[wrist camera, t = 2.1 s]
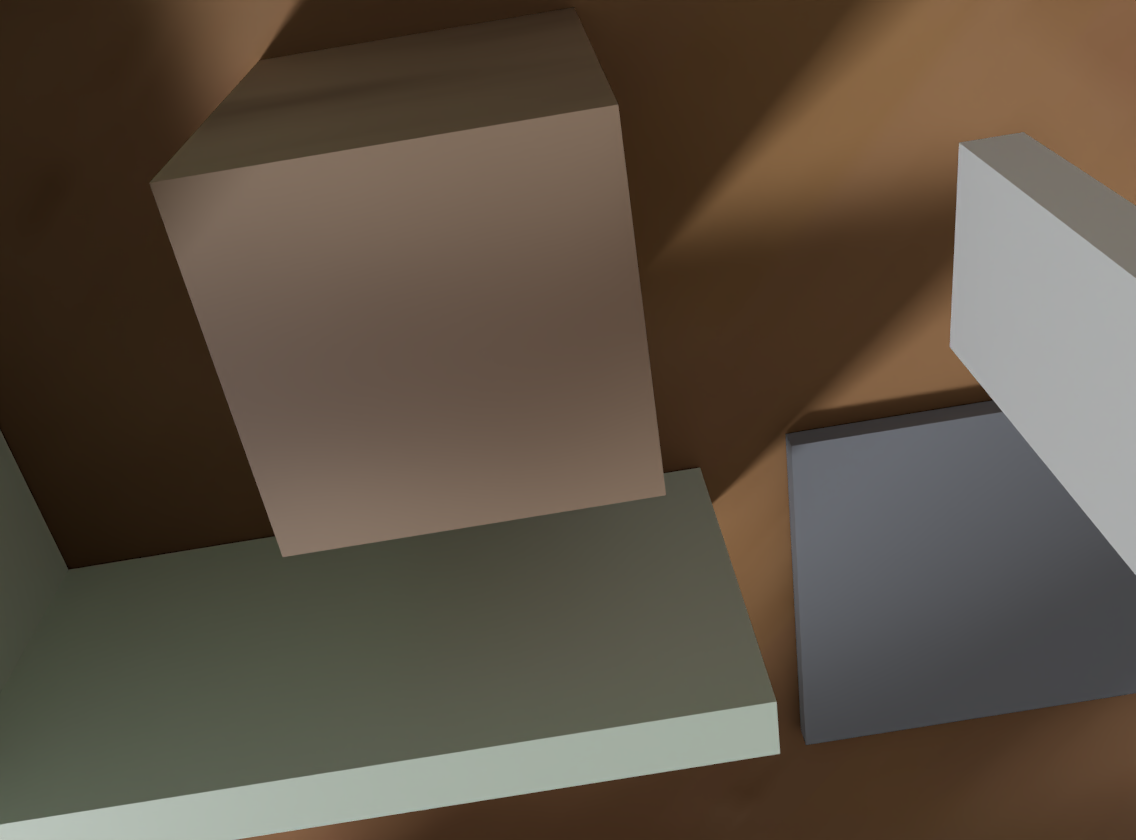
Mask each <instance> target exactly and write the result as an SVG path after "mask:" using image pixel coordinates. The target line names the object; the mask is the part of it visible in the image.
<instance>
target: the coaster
mask: <svg viewBox="0 0 1136 840" xmlns="http://www.w3.org/2000/svg"><path fill="white" fill-rule="evenodd" d="M786 451H787V470H788V490H789V509H790V528H791V548H792V567H793V587H794V606H795V625H796V645H797V664H798V683H799V703H800V722H801V732H802V735H803V738H804V741H805V744H806V745H810V744H816V743H822V742H829V741H835V740H841V739H848V738H854V737H860V736H867V735H873V734H879V733H886V732H892V731H898V730H905V729H911V728H918V727H924V726H930V725H937V724H943V723H949V722H956V721H962V720H968V719H975V718H981V717H987V716H994V715H1000V714H1006V713H1013V712H1019V711H1025V710H1032V709H1038V708H1044V707H1051V706H1057V705H1064V704H1070V703H1076V702H1083V701H1089V700H1095V699H1102V698H1108V697H1114V696H1121V695H1127V694H1133V693H1136V575H1135V574H1134V572H1133V571H1132V570H1131V569H1130V568H1129V566H1128V565H1127V564H1126V563H1125V561H1124V560H1123V559H1122V558H1121V556H1120V555H1119V554H1118V553H1117V552H1116V550H1115V549H1114V548H1113V547H1112V545H1111V544H1110V543H1109V542H1108V541H1107V539H1106V538H1105V537H1104V536H1103V534H1102V533H1101V532H1100V531H1099V529H1098V528H1097V527H1096V526H1095V525H1094V523H1093V522H1092V521H1091V520H1090V518H1089V517H1088V516H1087V515H1086V514H1085V512H1084V511H1083V510H1082V509H1081V507H1080V506H1079V505H1078V504H1077V502H1076V501H1075V500H1074V499H1073V498H1072V496H1071V495H1070V494H1069V493H1068V491H1067V490H1066V489H1065V488H1064V487H1063V485H1062V484H1061V483H1060V482H1059V480H1058V479H1057V478H1056V477H1055V475H1054V474H1053V473H1052V472H1051V471H1050V469H1049V468H1048V467H1047V466H1046V464H1045V463H1044V462H1043V461H1042V460H1041V458H1040V457H1039V456H1038V455H1037V453H1036V452H1035V451H1034V450H1033V448H1032V447H1031V446H1030V445H1029V444H1028V442H1027V441H1026V440H1025V439H1024V437H1023V436H1022V435H1021V434H1020V433H1019V431H1018V430H1017V429H1016V428H1015V426H1014V425H1013V424H1012V423H1011V421H1010V420H1009V419H1008V418H1007V417H1006V415H1005V414H1004V413H1003V412H1002V410H1001V409H1000V408H999V407H998V405H997V404H996V403H995V402H994V401H993V400H992V401H986V402H980V403H974V404H968V405H962V406H955V407H949V408H943V409H937V410H931V411H925V412H918V413H912V414H906V415H900V416H894V417H888V418H881V419H875V420H869V421H863V422H857V423H851V424H844V425H838V426H832V427H826V428H820V429H813V430H807V431H801V432H795V433H789V434H786Z"/></svg>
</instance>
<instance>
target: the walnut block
mask: <svg viewBox="0 0 1136 840" xmlns="http://www.w3.org/2000/svg"><path fill="white" fill-rule="evenodd" d="M149 184H150V187H151V190H152V192H153V195H154V198H155V201H156V204H157V206H158V209H159V212H160V215H161V218H162V220H163V223H164V226H165V229H166V232H167V234H168V237H169V240H170V243H171V246H172V248H173V251H174V254H175V257H176V260H177V262H178V265H179V268H180V271H181V274H182V276H183V279H184V282H185V285H186V288H187V290H188V293H189V296H190V299H191V302H192V304H193V307H194V310H195V313H196V316H197V318H198V321H199V324H200V327H201V330H202V332H203V335H204V338H205V341H206V344H207V346H208V349H209V352H210V355H211V358H212V360H213V363H214V366H215V369H216V372H217V374H218V377H219V380H220V383H221V386H222V388H223V391H224V394H225V397H226V400H227V402H228V405H229V408H230V411H231V414H232V416H233V419H234V422H235V425H236V428H237V430H238V433H239V436H240V439H241V442H242V444H243V447H244V450H245V453H246V456H247V458H248V461H249V464H250V467H251V470H252V472H253V475H254V478H255V481H256V484H257V486H258V489H259V492H260V495H261V498H262V500H263V503H264V506H265V509H266V512H267V514H268V517H269V520H270V523H271V526H272V528H273V531H274V534H275V537H276V540H277V542H278V545H279V548H280V551H281V554H282V557H287V556H293V555H299V554H306V553H312V552H318V551H324V550H330V549H337V548H343V547H349V546H355V545H361V544H367V543H374V542H380V541H386V540H392V539H398V538H405V537H411V536H417V535H423V534H429V533H436V532H442V531H448V530H454V529H460V528H466V527H473V526H479V525H485V524H491V523H497V522H504V521H510V520H516V519H522V518H528V517H534V516H541V515H547V514H553V513H559V512H565V511H572V510H578V509H584V508H590V507H596V506H603V505H609V504H615V503H621V502H627V501H633V500H640V499H646V498H652V497H658V496H664V495H666V490H665V482H664V474H663V466H662V458H661V449H660V441H659V433H658V425H657V417H656V409H655V400H654V392H653V384H652V376H651V368H650V360H649V351H648V343H647V335H646V327H645V319H644V311H643V302H642V294H641V286H640V278H639V270H638V262H637V254H636V245H635V237H634V229H633V221H632V213H631V205H630V196H629V188H628V180H627V172H626V164H625V156H624V147H623V139H622V131H621V123H620V115H619V107H618V103H617V101H616V98H615V96H614V94H613V92H612V90H611V87H610V85H609V83H608V81H607V79H606V76H605V74H604V72H603V70H602V68H601V65H600V63H599V61H598V59H597V57H596V54H595V52H594V50H593V48H592V46H591V43H590V41H589V39H588V37H587V35H586V32H585V30H584V28H583V26H582V24H581V21H580V19H579V17H578V15H577V13H576V10H575V8H574V7H572V8H566V9H560V10H554V11H548V12H543V13H537V14H531V15H525V16H519V17H513V18H507V19H501V20H495V21H489V22H483V23H477V24H471V25H466V26H460V27H454V28H448V29H442V30H436V31H430V32H424V33H418V34H412V35H406V36H400V37H394V38H388V39H383V40H377V41H371V42H365V43H359V44H353V45H347V46H341V47H335V48H329V49H323V50H317V51H311V52H306V53H300V54H294V55H288V56H282V57H276V58H270V59H264V60H259V61H258V62H257V64H256V65H255V66H254V67H253V68H252V69H251V70H250V71H249V72H248V74H247V75H246V76H245V77H244V78H243V79H242V80H241V81H240V82H239V84H238V85H237V86H236V87H235V88H234V89H233V90H232V91H231V92H230V94H229V95H228V96H227V97H226V98H225V99H224V100H223V101H222V102H221V104H220V105H219V106H218V107H217V108H216V109H215V110H214V111H213V113H212V114H211V115H210V116H209V117H208V118H207V119H206V120H205V121H204V123H203V124H202V125H201V126H200V127H199V128H198V129H197V130H196V131H195V133H194V134H193V135H192V136H191V137H190V138H189V139H188V140H187V141H186V143H185V144H184V145H183V146H182V147H181V148H180V149H179V150H178V151H177V153H176V154H175V155H174V156H173V157H172V158H171V159H170V160H169V161H168V163H167V164H166V165H165V166H164V167H163V168H162V169H161V170H160V171H159V173H158V174H157V175H156V176H155V177H154V178H153V179H152V180H151V181H150V183H149Z"/></svg>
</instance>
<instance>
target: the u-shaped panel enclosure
mask: <svg viewBox="0 0 1136 840" xmlns="http://www.w3.org/2000/svg"><path fill="white" fill-rule="evenodd" d="M663 474H664V482H665V490H666V495H664V496H658V497H652V498H646V499H640V500H633V501H627V502H621V503H615V504H609V505H603V506H596V507H590V508H584V509H578V510H572V511H565V512H559V513H553V514H547V515H541V516H534V517H528V518H522V519H516V520H510V521H504V522H497V523H491V524H485V525H479V526H473V527H466V528H460V529H454V530H448V531H442V532H436V533H429V534H423V535H417V536H411V537H405V538H398V539H392V540H386V541H380V542H374V543H367V544H361V545H355V546H349V547H343V548H337V549H330V550H324V551H318V552H312V553H306V554H299V555H293V556H287V557H282V554H281V551H280V548H279V545H278V542H277V540H276V537H275V536H274V537H267V538H261V539H255V540H249V541H243V542H237V543H230V544H224V545H218V546H212V547H206V548H199V549H193V550H187V551H181V552H175V553H169V554H162V555H156V556H150V557H144V558H138V559H131V560H125V561H119V562H113V563H107V564H101V565H94V566H88V567H82V568H76V569H70V570H68V568H67V566H66V564H65V562H64V559H63V557H62V555H61V553H60V551H59V549H58V547H57V545H56V543H55V541H54V539H53V537H52V535H51V533H50V531H49V529H48V527H47V525H46V523H45V521H44V519H43V517H42V514H41V512H40V510H39V508H38V506H37V504H36V502H35V500H34V498H33V496H32V494H31V492H30V490H29V488H28V486H27V484H26V482H25V480H24V478H23V476H22V474H21V472H20V469H19V467H18V465H17V463H16V461H15V459H14V457H13V455H12V453H11V451H10V449H9V447H8V445H7V443H6V441H5V439H4V437H3V435H2V433H1V431H0V840H236V839H242V838H248V837H255V836H261V835H267V834H274V833H280V832H286V831H293V830H299V829H305V828H312V827H318V826H324V825H331V824H337V823H343V822H350V821H356V820H363V819H369V818H375V817H382V816H388V815H394V814H401V813H407V812H413V811H420V810H426V809H432V808H439V807H445V806H451V805H458V804H464V803H470V802H477V801H483V800H490V799H496V798H502V797H509V796H515V795H521V794H528V793H534V792H540V791H547V790H553V789H559V788H566V787H572V786H578V785H585V784H591V783H598V782H604V781H610V780H617V779H623V778H629V777H636V776H642V775H648V774H655V773H661V772H667V771H674V770H680V769H686V768H693V767H699V766H705V765H712V764H718V763H725V762H731V761H737V760H744V759H750V758H756V757H763V756H769V755H775V754H780V744H779V729H778V714H777V701H776V698H775V695H774V692H773V689H772V686H771V683H770V680H769V677H768V674H767V671H766V668H765V665H764V661H763V658H762V655H761V652H760V649H759V646H758V643H757V640H756V637H755V634H754V631H753V628H752V625H751V622H750V619H749V616H748V613H747V610H746V606H745V603H744V600H743V597H742V594H741V591H740V588H739V585H738V582H737V579H736V576H735V573H734V570H733V567H732V564H731V561H730V558H729V555H728V551H727V548H726V545H725V542H724V539H723V536H722V533H721V530H720V527H719V524H718V521H717V518H716V515H715V512H714V509H713V506H712V503H711V500H710V496H709V493H708V490H707V487H706V484H705V481H704V478H703V475H702V472H701V469H700V468H694V469H688V470H682V471H675V472H669V473H663Z"/></svg>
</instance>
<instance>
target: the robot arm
mask: <svg viewBox="0 0 1136 840" xmlns="http://www.w3.org/2000/svg"><path fill="white" fill-rule="evenodd" d="M950 348H951V349H952V350H953V351H954V353H955V354H956V355H957V356H958V358H959V359H960V360H961V361H962V363H963V364H964V365H965V366H966V367H967V369H968V370H969V371H970V372H971V374H972V375H973V376H974V377H975V378H976V380H977V381H978V382H979V383H980V385H981V386H982V387H983V388H984V390H985V391H986V392H987V393H988V394H989V396H990V397H991V398H992V399H993V401H994V402H995V403H996V404H997V405H998V407H999V408H1000V409H1001V410H1002V412H1003V413H1004V414H1005V415H1006V417H1007V418H1008V419H1009V420H1010V421H1011V423H1012V424H1013V425H1014V426H1015V428H1016V429H1017V430H1018V431H1019V433H1020V434H1021V435H1022V436H1023V437H1024V439H1025V440H1026V441H1027V442H1028V444H1029V445H1030V446H1031V447H1032V448H1033V450H1034V451H1035V452H1036V453H1037V455H1038V456H1039V457H1040V458H1041V460H1042V461H1043V462H1044V463H1045V464H1046V466H1047V467H1048V468H1049V469H1050V471H1051V472H1052V473H1053V474H1054V475H1055V477H1056V478H1057V479H1058V480H1059V482H1060V483H1061V484H1062V485H1063V487H1064V488H1065V489H1066V490H1067V491H1068V493H1069V494H1070V495H1071V496H1072V498H1073V499H1074V500H1075V501H1076V502H1077V504H1078V505H1079V506H1080V507H1081V509H1082V510H1083V511H1084V512H1085V514H1086V515H1087V516H1088V517H1089V518H1090V520H1091V521H1092V522H1093V523H1094V525H1095V526H1096V527H1097V528H1098V529H1099V531H1100V532H1101V533H1102V534H1103V536H1104V537H1105V538H1106V539H1107V541H1108V542H1109V543H1110V544H1111V545H1112V547H1113V548H1114V549H1115V550H1116V552H1117V553H1118V554H1119V555H1120V556H1121V558H1122V559H1123V560H1124V561H1125V563H1126V564H1127V565H1128V566H1129V568H1130V569H1131V570H1132V571H1133V572H1134V574H1135V575H1136V206H1135V205H1134V204H1132V203H1131V202H1129V201H1128V200H1126V199H1125V198H1123V197H1122V196H1120V195H1118V194H1117V193H1115V192H1114V191H1112V190H1111V189H1109V188H1108V187H1106V186H1105V185H1103V184H1102V183H1100V182H1099V181H1097V180H1096V179H1094V178H1093V177H1091V176H1089V175H1088V174H1086V173H1085V172H1083V171H1082V170H1080V169H1079V168H1077V167H1076V166H1074V165H1073V164H1071V163H1070V162H1068V161H1067V160H1065V159H1064V158H1062V157H1060V156H1059V155H1057V154H1056V153H1054V152H1053V151H1051V150H1050V149H1048V148H1047V147H1045V146H1044V145H1042V144H1041V143H1039V142H1038V141H1036V140H1035V139H1033V138H1031V137H1030V136H1028V135H1027V134H1025V133H1024V132H1022V133H1016V134H1010V135H1004V136H997V137H991V138H985V139H979V140H973V141H967V142H961V143H959V157H958V179H957V201H956V222H955V244H954V266H953V287H952V309H951V331H950Z"/></svg>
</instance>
